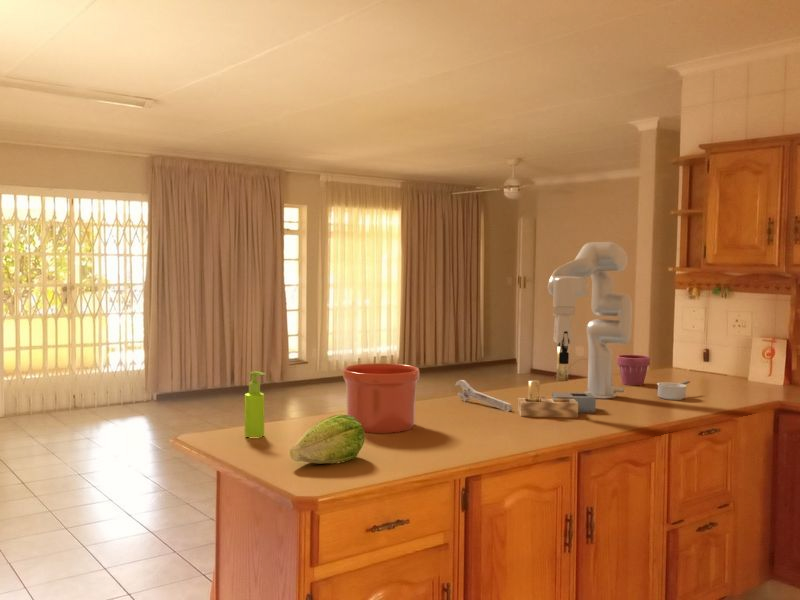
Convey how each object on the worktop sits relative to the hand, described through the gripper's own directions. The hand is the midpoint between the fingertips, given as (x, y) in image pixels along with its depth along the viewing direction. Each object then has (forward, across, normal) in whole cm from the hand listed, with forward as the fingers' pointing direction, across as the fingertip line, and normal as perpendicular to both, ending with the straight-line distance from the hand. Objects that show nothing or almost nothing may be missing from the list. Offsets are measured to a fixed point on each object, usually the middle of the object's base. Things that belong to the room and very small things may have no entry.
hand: (562, 362), depth 253 cm
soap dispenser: (+19, +42, -100) cm, 110 cm away
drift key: (+18, -10, -1) cm, 21 cm away
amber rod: (+19, 0, -10) cm, 21 cm away
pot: (+19, +24, -63) cm, 70 cm away
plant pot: (+19, -71, +44) cm, 86 cm away
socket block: (+19, -10, +6) cm, 22 cm away
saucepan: (+19, -41, +54) cm, 70 cm away
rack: (+19, 0, -5) cm, 20 cm away
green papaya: (+20, +68, -74) cm, 102 cm away
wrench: (+19, -15, -27) cm, 37 cm away
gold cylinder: (+6, 0, 0) cm, 6 cm away
